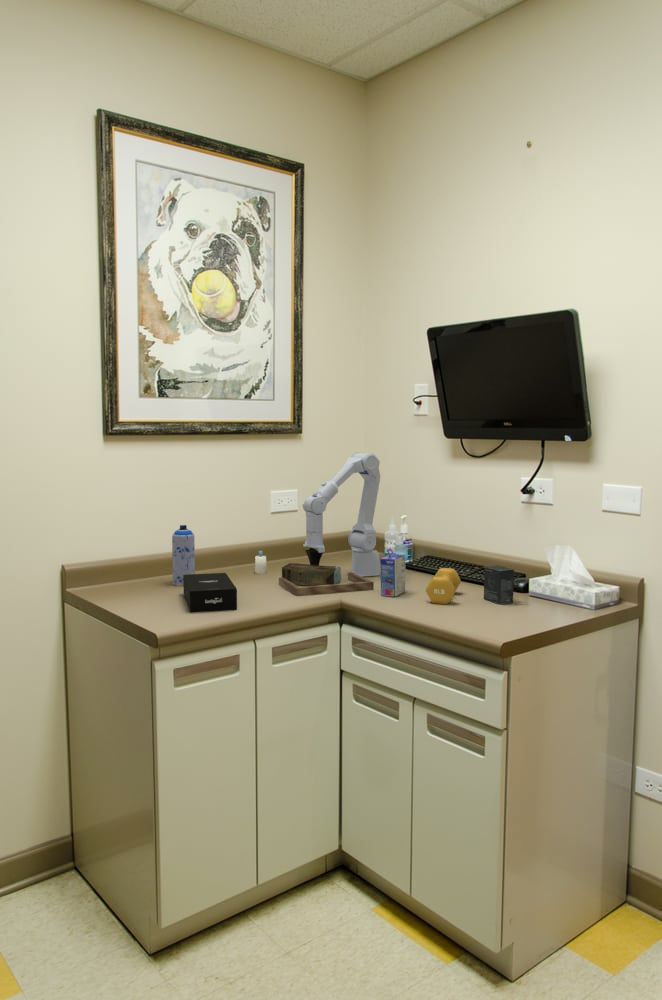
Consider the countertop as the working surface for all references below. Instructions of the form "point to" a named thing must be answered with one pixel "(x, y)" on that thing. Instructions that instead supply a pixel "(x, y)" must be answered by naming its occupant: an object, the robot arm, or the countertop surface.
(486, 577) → the box
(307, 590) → the display bay
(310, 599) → the countertop surface
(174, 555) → the aerosol can
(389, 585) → the ink cartridge box
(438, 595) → the dumbbell
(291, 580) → the beverage carton
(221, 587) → the box
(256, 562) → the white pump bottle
